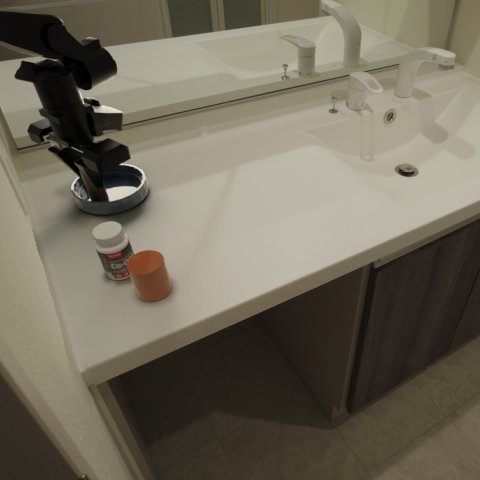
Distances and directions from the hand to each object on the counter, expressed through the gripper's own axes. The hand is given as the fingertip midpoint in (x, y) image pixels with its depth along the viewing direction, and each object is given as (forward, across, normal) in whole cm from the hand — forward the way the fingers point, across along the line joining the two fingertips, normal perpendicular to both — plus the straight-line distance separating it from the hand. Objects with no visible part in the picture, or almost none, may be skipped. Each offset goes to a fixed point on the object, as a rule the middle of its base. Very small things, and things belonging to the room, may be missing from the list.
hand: (94, 184), depth 75 cm
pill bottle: (+5, -17, +9) cm, 20 cm away
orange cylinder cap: (+5, -24, +9) cm, 26 cm away
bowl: (+4, 0, -3) cm, 5 cm away
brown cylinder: (0, 0, 0) cm, 0 cm away
